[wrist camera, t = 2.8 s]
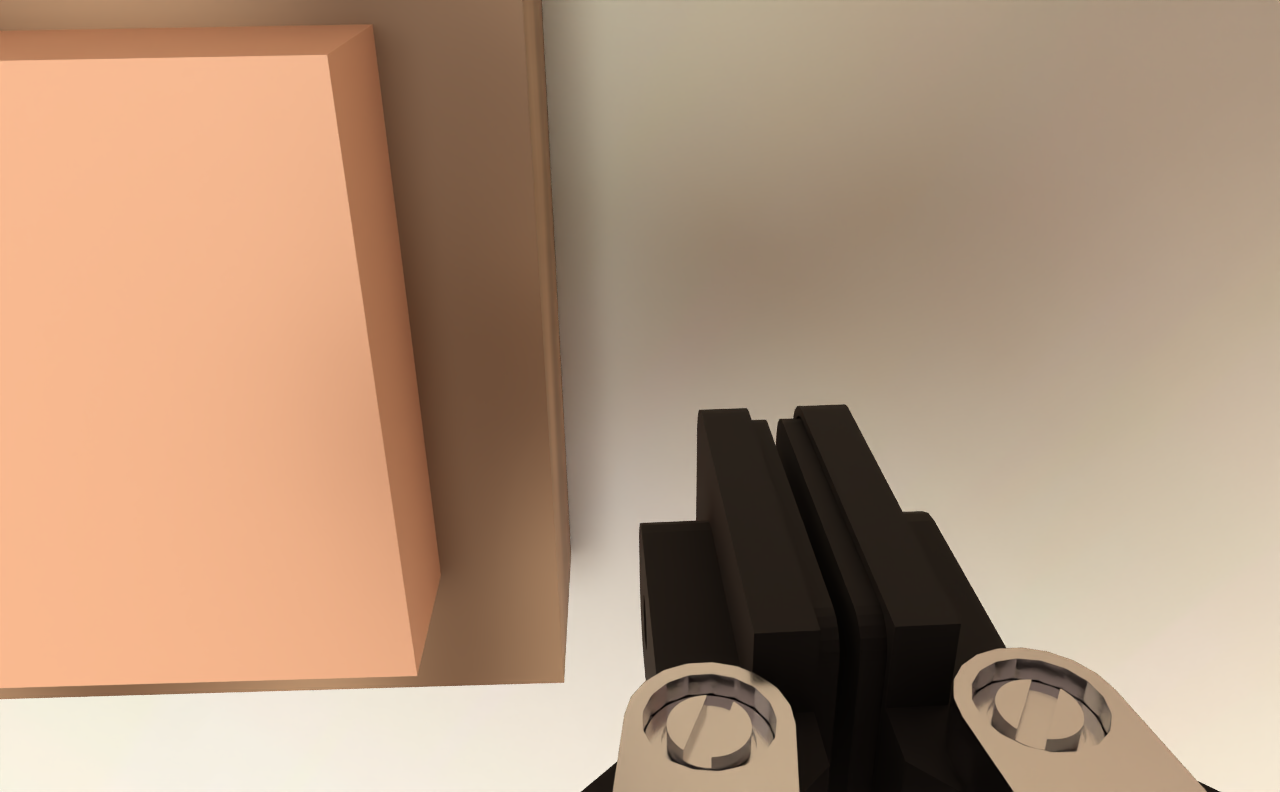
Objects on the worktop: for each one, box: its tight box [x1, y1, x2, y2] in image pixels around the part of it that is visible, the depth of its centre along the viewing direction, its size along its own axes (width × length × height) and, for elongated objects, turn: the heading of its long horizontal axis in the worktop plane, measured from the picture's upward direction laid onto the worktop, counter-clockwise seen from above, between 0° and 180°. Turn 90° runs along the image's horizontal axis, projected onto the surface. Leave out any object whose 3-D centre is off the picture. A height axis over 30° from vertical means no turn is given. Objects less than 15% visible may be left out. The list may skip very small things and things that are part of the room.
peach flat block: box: [0, 24, 441, 688], centre depth 15 cm, size 7×9×2 cm
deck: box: [0, 0, 571, 699], centre depth 17 cm, size 16×14×4 cm
